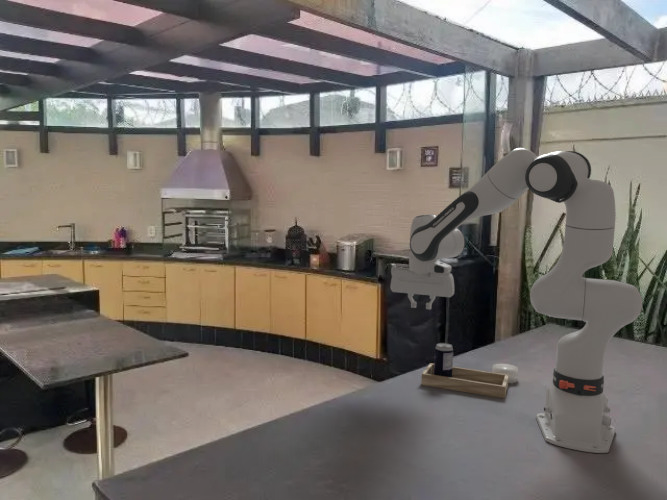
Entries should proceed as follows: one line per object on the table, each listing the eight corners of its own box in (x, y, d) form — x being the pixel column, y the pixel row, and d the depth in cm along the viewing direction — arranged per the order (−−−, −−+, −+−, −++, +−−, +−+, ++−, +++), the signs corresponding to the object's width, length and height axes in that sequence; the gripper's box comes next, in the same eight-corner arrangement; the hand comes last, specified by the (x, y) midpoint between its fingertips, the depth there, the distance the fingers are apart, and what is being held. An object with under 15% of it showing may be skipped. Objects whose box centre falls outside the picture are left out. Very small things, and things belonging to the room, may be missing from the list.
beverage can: (450, 379, 170) (452, 343, 169) (452, 385, 165) (454, 348, 163) (432, 378, 171) (434, 342, 170) (434, 384, 165) (436, 347, 164)
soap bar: (516, 385, 166) (517, 373, 166) (490, 381, 170) (491, 369, 169) (518, 377, 174) (519, 365, 173) (493, 373, 177) (494, 362, 176)
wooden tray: (504, 398, 155) (505, 387, 154) (421, 384, 164) (421, 374, 164) (508, 385, 166) (508, 374, 165) (429, 373, 175) (430, 363, 175)
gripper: (388, 264, 168) (387, 306, 169) (452, 269, 160) (450, 313, 162) (394, 262, 174) (392, 303, 175) (456, 266, 166) (454, 309, 167)
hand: (421, 308), depth 168 cm, fingers open, 3 cm apart
